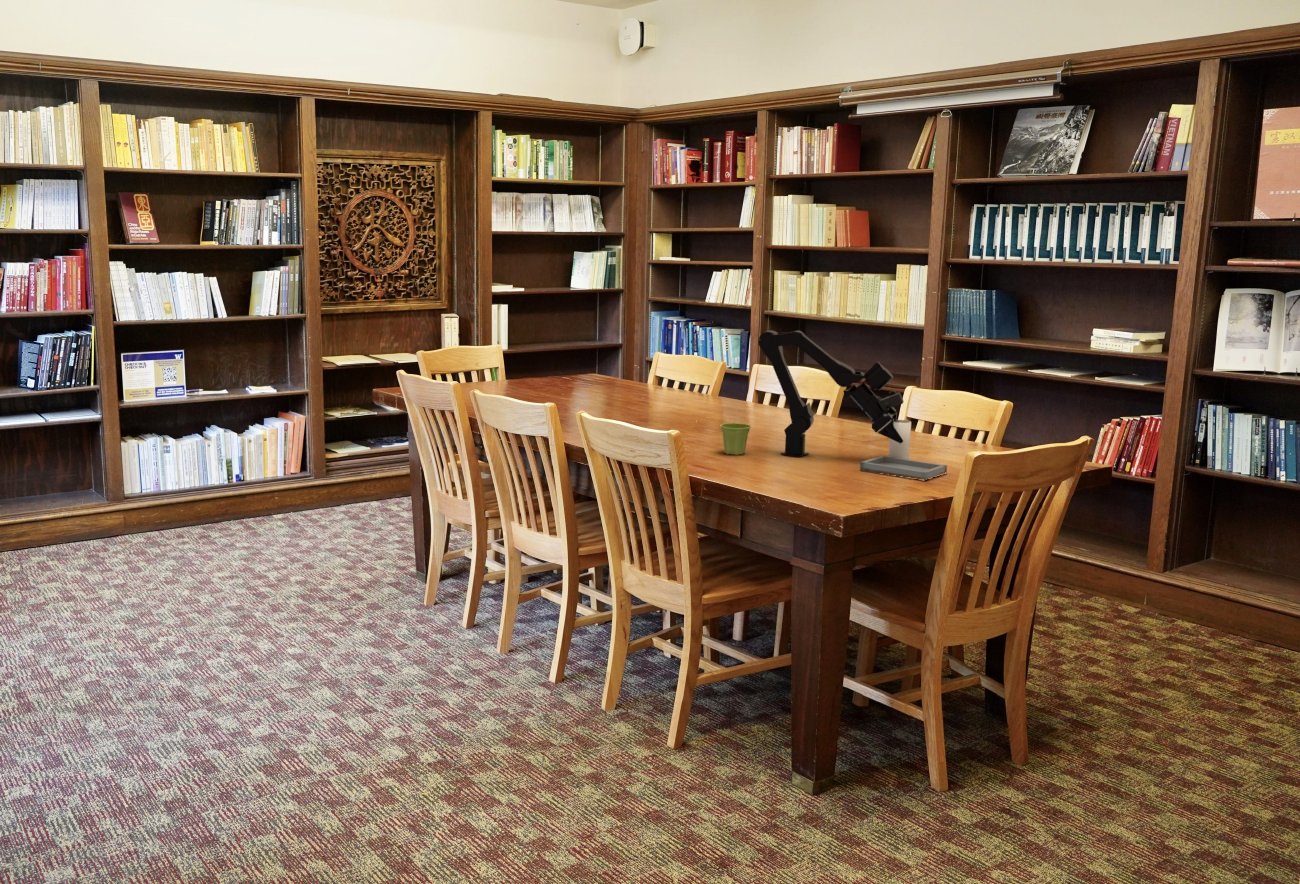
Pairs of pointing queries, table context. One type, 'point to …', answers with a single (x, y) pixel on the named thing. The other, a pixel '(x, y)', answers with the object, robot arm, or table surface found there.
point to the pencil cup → (902, 448)
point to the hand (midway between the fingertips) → (903, 439)
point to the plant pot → (735, 437)
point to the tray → (903, 467)
